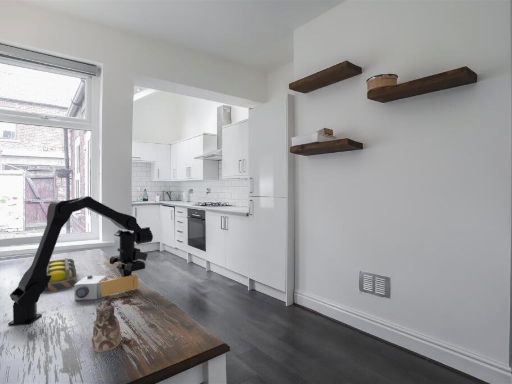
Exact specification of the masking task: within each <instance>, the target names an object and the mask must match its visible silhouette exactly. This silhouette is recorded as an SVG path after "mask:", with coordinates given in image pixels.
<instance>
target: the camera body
mask: <svg viewBox="0 0 512 384" xmlns="http://www.w3.org/2000/svg"><path fill="white" fill-rule="evenodd" d="M107 280H108V278H107V275H91V274H90V275H87V276H85V277H83V278H82V279H80V280H79V281H77V283H76V284H74V286H73V287H74V288H73V290H74V292H73V293H74V295H73V296H74V301H82V300H85V301H86V300H97V299H98V282H100V284H101V282H102V281H107Z"/></svg>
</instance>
